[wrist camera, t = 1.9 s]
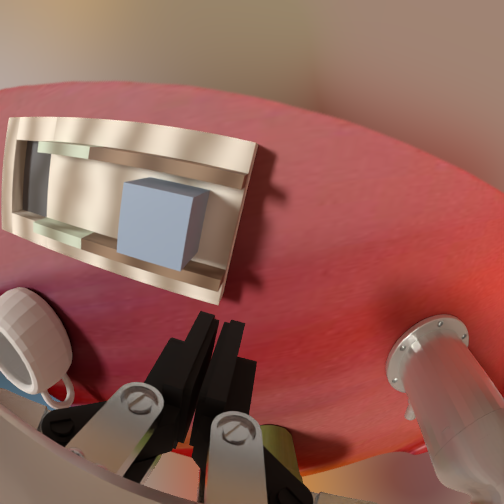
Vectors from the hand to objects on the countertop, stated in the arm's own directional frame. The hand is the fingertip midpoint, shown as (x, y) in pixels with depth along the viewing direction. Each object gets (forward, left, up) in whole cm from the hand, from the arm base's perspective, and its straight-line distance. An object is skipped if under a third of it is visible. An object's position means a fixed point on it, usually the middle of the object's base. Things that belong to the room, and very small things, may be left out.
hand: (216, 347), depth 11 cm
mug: (-16, +37, -19) cm, 45 cm away
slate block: (+3, +8, -16) cm, 18 cm away
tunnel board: (+6, +18, -19) cm, 27 cm away
